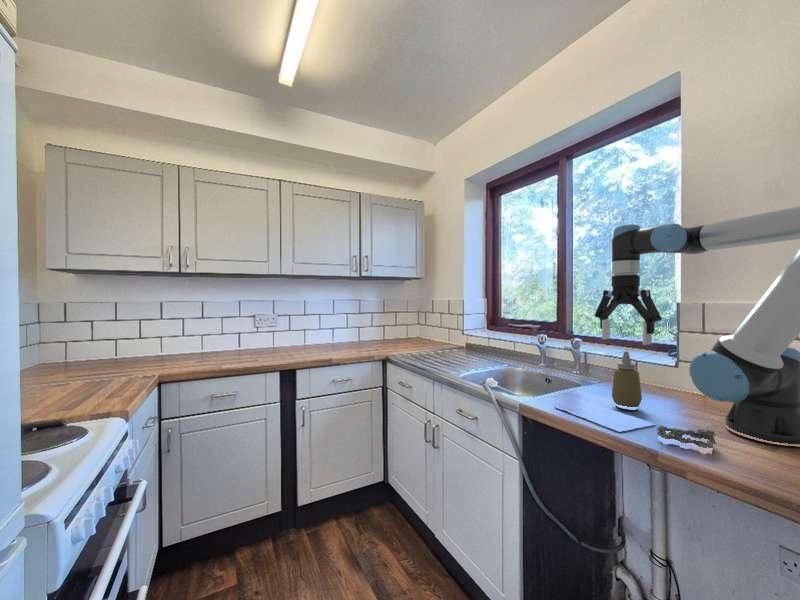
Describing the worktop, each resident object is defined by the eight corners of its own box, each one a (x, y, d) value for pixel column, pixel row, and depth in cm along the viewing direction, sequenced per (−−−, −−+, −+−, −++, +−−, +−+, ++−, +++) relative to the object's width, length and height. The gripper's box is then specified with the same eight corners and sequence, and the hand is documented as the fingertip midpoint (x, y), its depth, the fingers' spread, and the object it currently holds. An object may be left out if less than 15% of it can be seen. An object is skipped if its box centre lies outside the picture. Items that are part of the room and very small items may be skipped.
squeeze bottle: (628, 413, 105) (627, 354, 105) (605, 405, 113) (605, 350, 112) (648, 410, 107) (648, 353, 107) (625, 403, 115) (624, 349, 115)
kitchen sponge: (717, 448, 81) (717, 431, 81) (711, 458, 77) (711, 440, 76) (662, 434, 90) (662, 419, 89) (653, 443, 85) (653, 426, 85)
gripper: (676, 272, 99) (676, 346, 99) (599, 276, 122) (599, 336, 123) (658, 272, 96) (658, 348, 97) (583, 276, 120) (583, 337, 120)
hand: (625, 341), depth 110 cm, fingers open, 13 cm apart
